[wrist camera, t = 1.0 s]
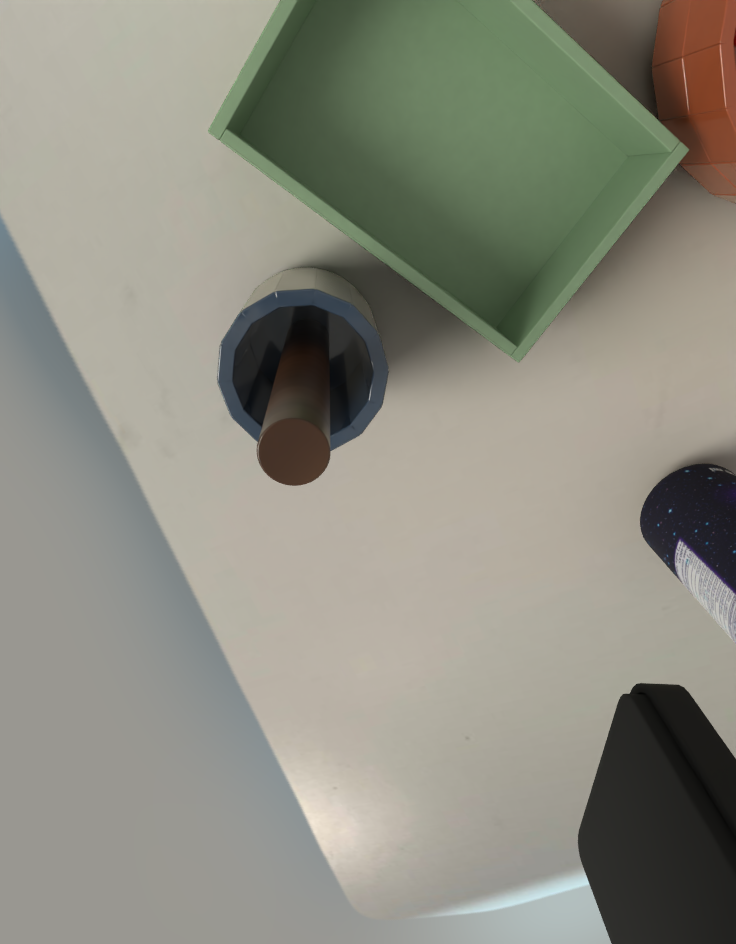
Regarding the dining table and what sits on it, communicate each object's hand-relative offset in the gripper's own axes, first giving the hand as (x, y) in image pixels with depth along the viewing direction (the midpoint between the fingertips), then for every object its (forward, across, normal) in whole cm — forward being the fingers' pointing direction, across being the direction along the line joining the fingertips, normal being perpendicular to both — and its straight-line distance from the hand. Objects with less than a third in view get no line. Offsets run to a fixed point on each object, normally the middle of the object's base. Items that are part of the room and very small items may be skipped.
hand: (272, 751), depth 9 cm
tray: (+25, -5, -9) cm, 27 cm away
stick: (+24, 0, 0) cm, 24 cm away
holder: (+25, 0, 0) cm, 25 cm away
